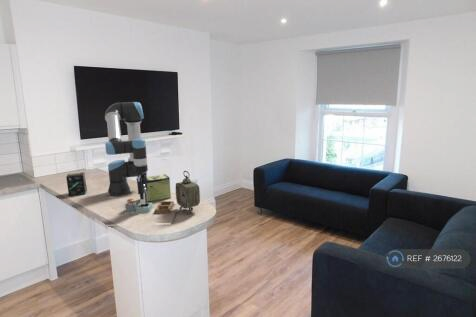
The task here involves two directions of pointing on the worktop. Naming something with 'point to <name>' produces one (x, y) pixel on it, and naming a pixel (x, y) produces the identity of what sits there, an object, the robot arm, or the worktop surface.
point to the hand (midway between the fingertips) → (144, 202)
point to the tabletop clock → (187, 193)
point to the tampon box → (76, 184)
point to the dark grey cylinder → (145, 198)
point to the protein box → (158, 188)
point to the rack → (164, 207)
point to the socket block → (138, 209)
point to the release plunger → (130, 201)
